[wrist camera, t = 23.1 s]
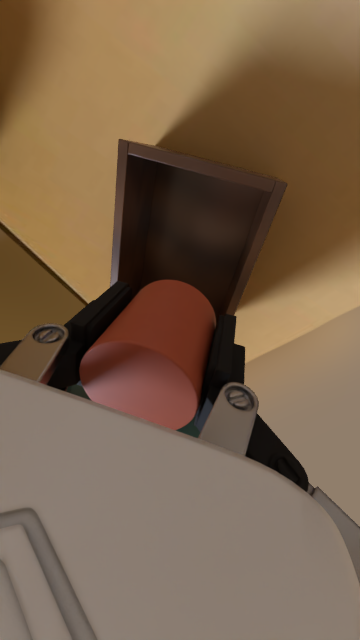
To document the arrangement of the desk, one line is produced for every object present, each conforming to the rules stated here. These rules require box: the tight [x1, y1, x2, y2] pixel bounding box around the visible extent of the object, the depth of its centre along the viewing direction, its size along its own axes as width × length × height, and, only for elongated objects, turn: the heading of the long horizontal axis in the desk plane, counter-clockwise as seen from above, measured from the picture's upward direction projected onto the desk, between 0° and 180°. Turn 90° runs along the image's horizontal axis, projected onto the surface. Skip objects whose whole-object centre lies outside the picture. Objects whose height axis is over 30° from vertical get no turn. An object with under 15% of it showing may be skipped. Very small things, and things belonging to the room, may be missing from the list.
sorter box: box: [110, 139, 287, 328], centre depth 26 cm, size 17×13×8 cm
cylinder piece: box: [79, 280, 216, 430], centre depth 11 cm, size 4×4×5 cm
